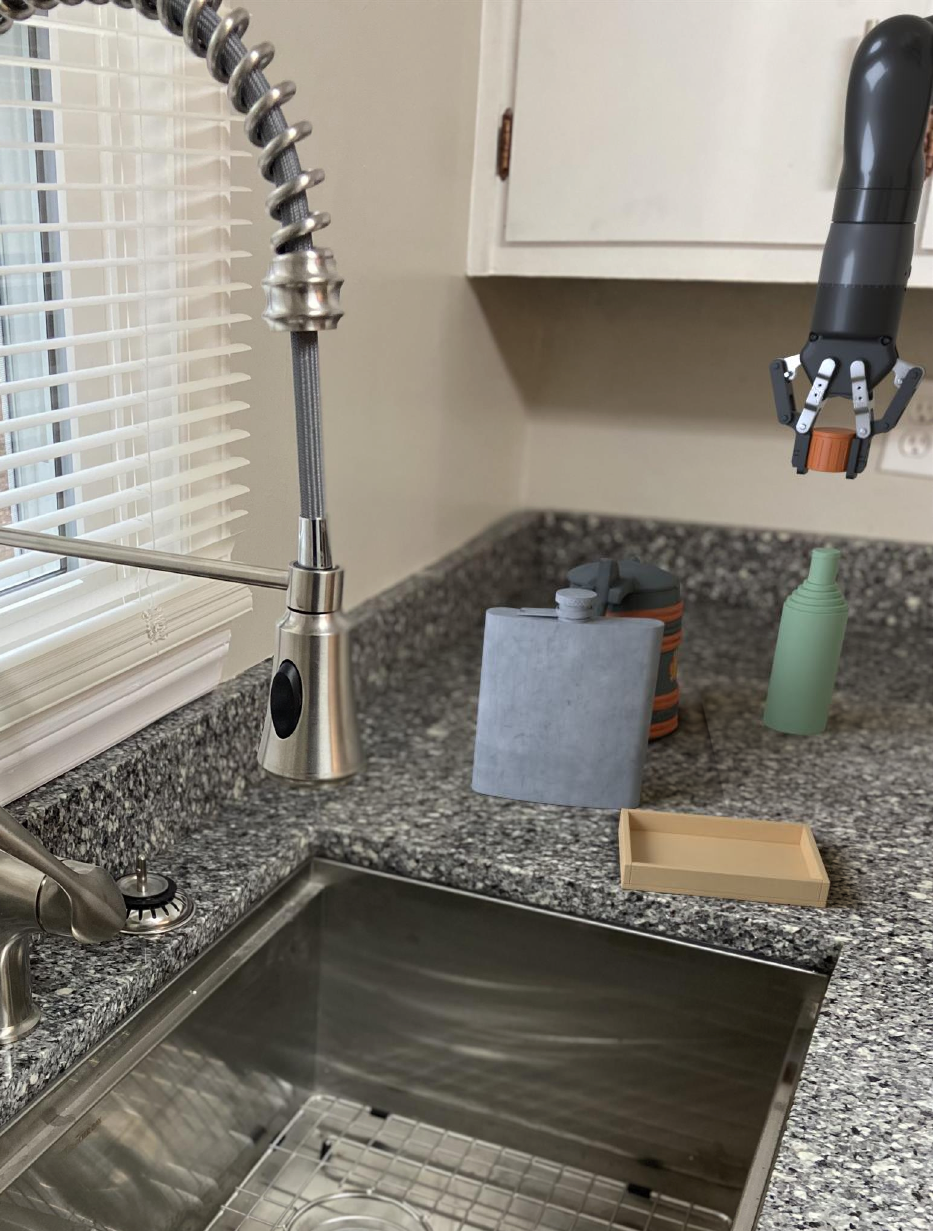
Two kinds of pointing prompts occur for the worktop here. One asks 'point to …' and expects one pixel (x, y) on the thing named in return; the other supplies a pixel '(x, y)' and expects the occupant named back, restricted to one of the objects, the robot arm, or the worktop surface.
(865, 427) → the robot arm
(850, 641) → the worktop surface
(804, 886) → the tray
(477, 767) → the hip flask
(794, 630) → the bottle
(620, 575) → the beer stein
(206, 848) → the worktop surface
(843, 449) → the cap
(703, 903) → the worktop surface
